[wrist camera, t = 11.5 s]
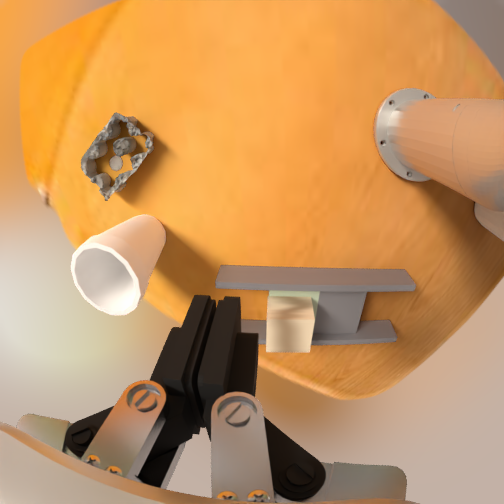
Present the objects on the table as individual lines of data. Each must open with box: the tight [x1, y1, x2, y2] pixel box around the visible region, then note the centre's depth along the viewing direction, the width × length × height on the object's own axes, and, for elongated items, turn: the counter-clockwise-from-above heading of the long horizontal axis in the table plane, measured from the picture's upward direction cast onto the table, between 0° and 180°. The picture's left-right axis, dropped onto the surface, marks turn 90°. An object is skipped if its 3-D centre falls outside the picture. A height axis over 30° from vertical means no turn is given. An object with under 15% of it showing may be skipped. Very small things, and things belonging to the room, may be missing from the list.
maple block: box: [266, 296, 315, 352], centre depth 38 cm, size 6×6×5 cm
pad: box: [269, 290, 320, 331], centre depth 41 cm, size 7×9×3 cm
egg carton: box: [81, 113, 154, 201], centre depth 33 cm, size 11×8×4 cm
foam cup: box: [71, 214, 166, 315], centre depth 34 cm, size 10×9×13 cm
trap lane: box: [215, 265, 416, 345], centre depth 40 cm, size 28×11×4 cm, turn 90°
